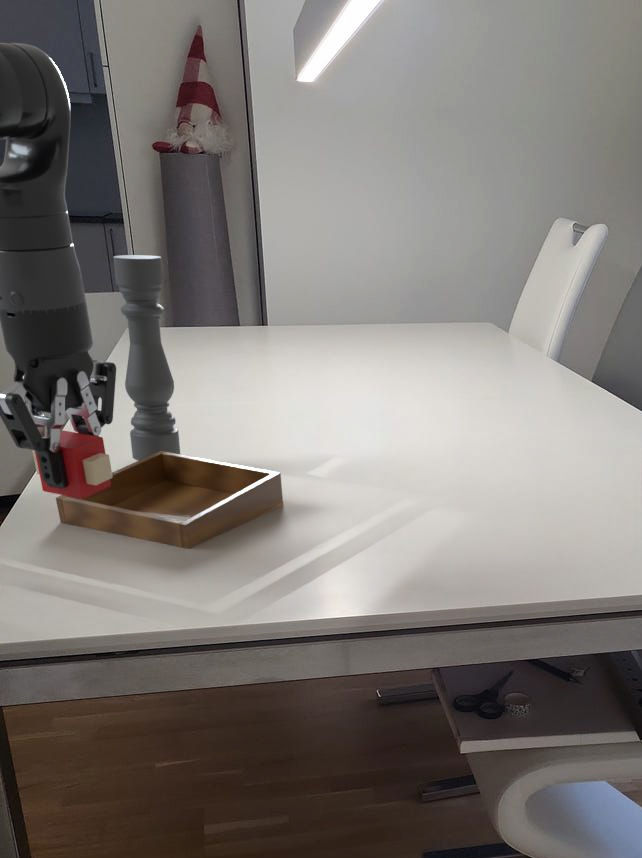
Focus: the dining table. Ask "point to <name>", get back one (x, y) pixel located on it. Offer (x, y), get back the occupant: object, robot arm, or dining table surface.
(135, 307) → the candle holder
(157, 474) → the wooden tray
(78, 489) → the red and beige block
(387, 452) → the dining table surface
